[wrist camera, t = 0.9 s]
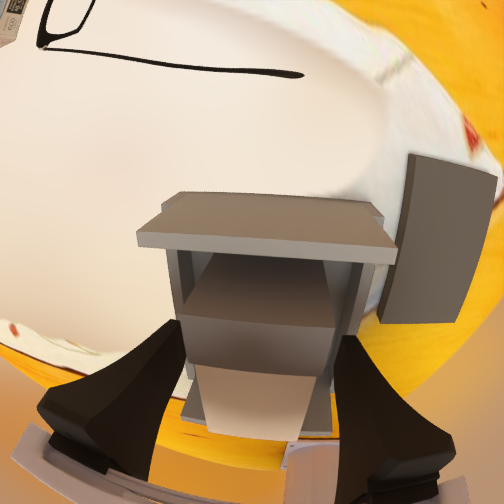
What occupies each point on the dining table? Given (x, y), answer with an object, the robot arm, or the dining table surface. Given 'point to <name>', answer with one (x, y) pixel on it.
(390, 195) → the dining table surface
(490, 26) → the dining table surface
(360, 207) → the grey open tray
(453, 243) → the rubber mat
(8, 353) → the dining table surface
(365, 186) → the dining table surface
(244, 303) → the box
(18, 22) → the light bulb box
